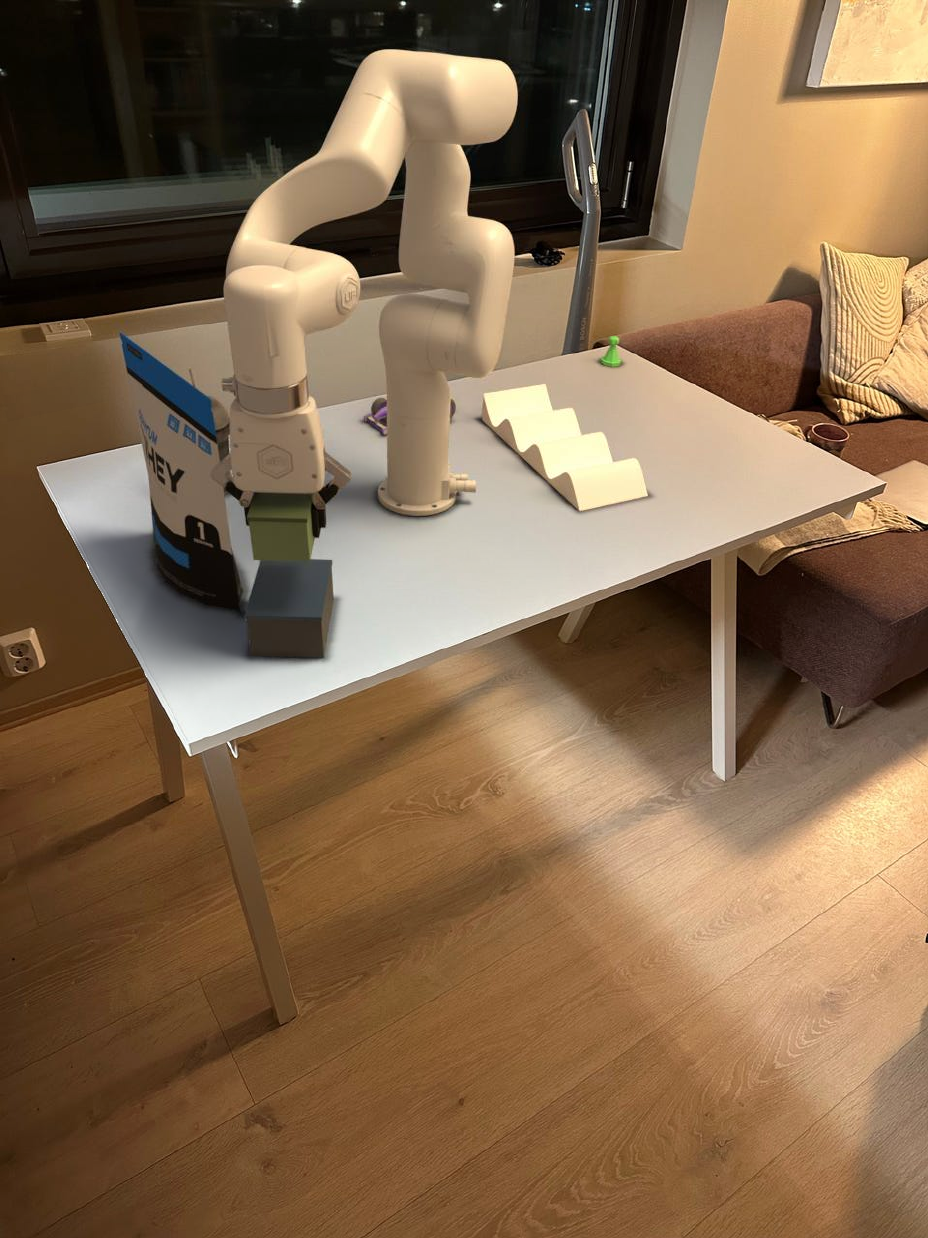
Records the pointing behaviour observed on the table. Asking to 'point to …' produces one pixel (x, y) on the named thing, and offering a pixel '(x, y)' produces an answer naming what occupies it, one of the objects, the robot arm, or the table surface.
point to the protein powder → (183, 482)
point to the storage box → (290, 608)
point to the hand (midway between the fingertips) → (287, 529)
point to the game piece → (611, 353)
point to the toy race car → (381, 413)
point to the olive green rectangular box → (281, 527)
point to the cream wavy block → (562, 448)
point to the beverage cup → (219, 424)
